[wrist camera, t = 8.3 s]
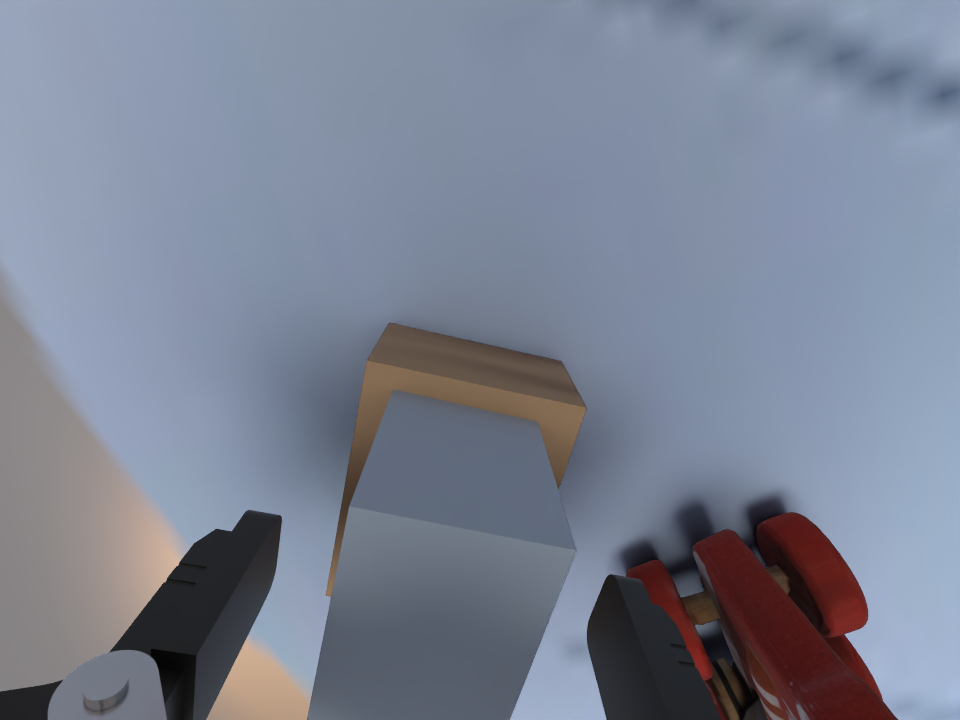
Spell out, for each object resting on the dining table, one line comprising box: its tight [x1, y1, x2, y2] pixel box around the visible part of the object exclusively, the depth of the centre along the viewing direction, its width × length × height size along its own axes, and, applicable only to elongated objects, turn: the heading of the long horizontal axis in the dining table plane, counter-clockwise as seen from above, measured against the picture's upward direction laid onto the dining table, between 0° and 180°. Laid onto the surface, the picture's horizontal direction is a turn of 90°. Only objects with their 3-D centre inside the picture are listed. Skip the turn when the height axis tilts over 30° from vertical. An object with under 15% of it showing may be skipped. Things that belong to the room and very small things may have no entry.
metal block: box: [307, 389, 577, 720], centre depth 12 cm, size 7×4×5 cm, turn 166°
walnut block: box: [326, 323, 587, 597], centre depth 16 cm, size 8×6×4 cm
